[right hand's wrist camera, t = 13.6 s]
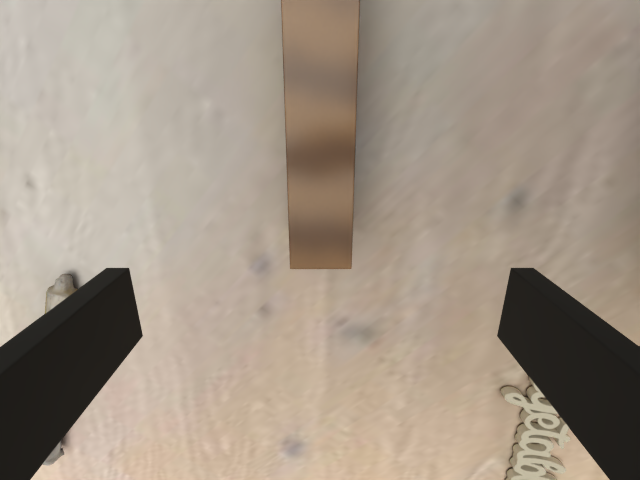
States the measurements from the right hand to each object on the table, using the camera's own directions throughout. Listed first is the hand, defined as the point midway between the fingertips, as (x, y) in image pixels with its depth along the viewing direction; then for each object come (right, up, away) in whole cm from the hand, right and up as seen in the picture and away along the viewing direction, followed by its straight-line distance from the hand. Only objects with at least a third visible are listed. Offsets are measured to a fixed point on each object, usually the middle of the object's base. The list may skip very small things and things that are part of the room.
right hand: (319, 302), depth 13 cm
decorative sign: (+26, -20, +30) cm, 45 cm away
